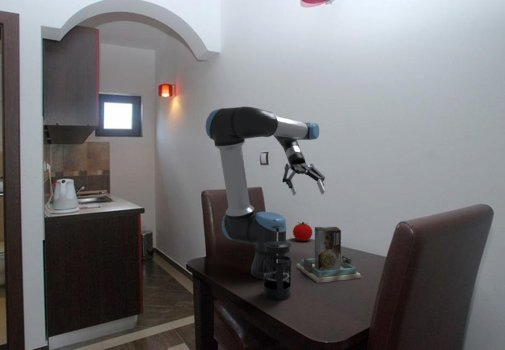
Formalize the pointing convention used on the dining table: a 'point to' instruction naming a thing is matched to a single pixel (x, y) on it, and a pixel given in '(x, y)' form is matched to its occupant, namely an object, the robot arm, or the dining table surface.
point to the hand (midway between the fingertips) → (309, 193)
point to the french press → (277, 270)
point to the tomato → (302, 232)
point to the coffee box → (327, 248)
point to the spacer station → (329, 271)
